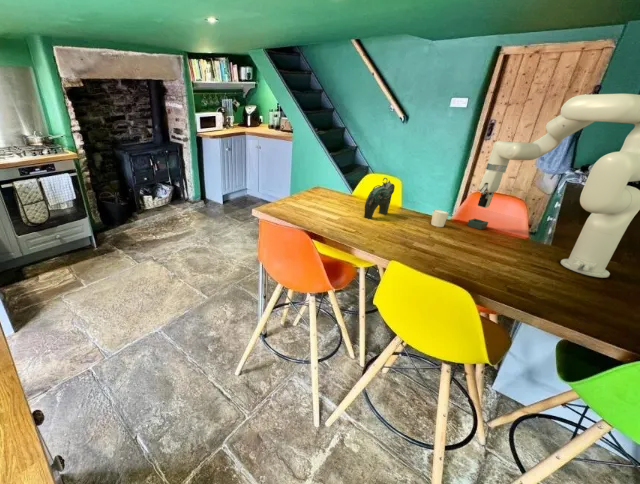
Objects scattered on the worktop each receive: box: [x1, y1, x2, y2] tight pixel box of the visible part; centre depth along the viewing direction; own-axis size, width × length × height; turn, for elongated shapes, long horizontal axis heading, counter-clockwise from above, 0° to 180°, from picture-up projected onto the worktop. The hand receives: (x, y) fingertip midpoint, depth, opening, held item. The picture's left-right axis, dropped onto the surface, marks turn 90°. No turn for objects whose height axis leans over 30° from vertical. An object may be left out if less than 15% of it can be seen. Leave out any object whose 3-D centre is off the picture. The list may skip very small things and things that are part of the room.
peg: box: [479, 193, 493, 209], centre depth 146 cm, size 3×3×6 cm
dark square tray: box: [466, 218, 489, 230], centre depth 150 cm, size 6×6×3 cm
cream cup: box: [430, 209, 450, 228], centre depth 149 cm, size 7×7×7 cm
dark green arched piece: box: [363, 177, 395, 220], centre depth 155 cm, size 20×6×20 cm, turn 128°
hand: (483, 205), depth 147 cm, fingers closed on peg, 3 cm apart
